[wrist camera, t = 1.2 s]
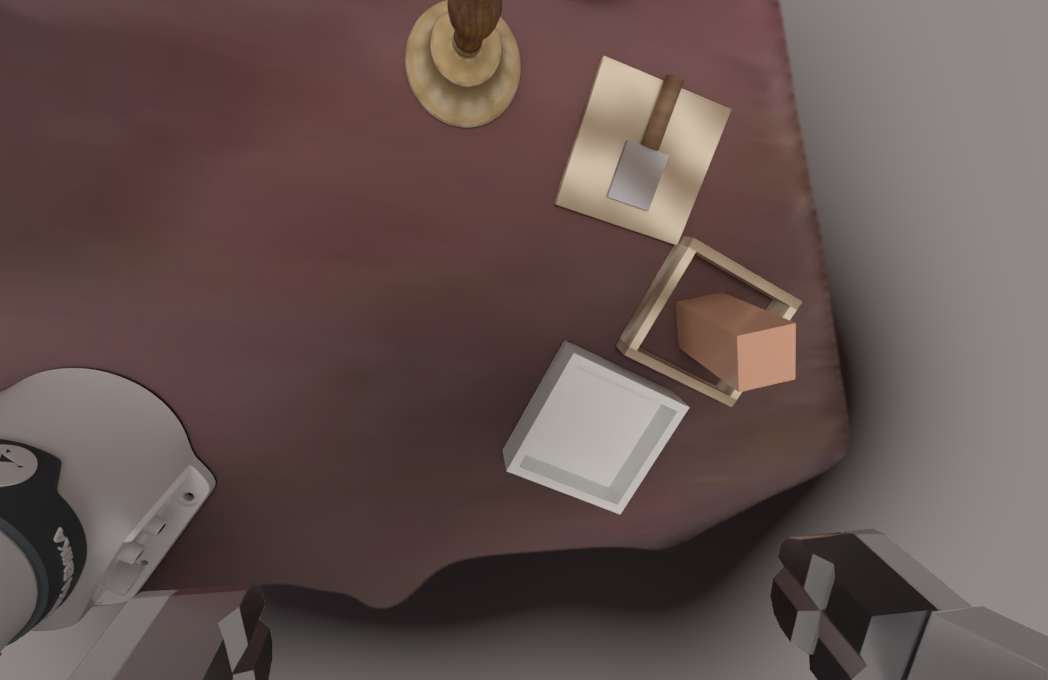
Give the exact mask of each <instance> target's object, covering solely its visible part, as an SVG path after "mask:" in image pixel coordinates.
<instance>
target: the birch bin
mask: <svg viewBox="0 0 1048 680" xmlns="http://www.w3.org/2000/svg"><path fill="white" fill-rule="evenodd" d="M694 255H697V256H698V257H700V258H702V259H704V260H705V261H707V262H709V263H710V264H712V265H714V266H716V267H717V268H719V269H721V270H723V271H724V272H726V273H728V274H729V275H731V276H733V277H735V278H736V279H738V280H740V281H742V282H743V283H745V284H747V285H749V286H750V287H752V288H754V289H755V290H757V291H759V292H761V293H762V294H764V295H766V296H768V297H769V298H771V299H772V301H771V302H770V304H769V305H768V307H767V308H766V311H768V312H771V313H773V314H776V315H778V316H780V317H783V318H785V319H787V320H790V319H791V318H792V316H793V315H794V313H795V312H796V310H797V309H798V307H799V306H800V304H801V303H802V301H800V300H798V299H797V298H795V297H793V296H791V295H790V294H788V293H786V292H785V291H783V290H781V289H780V288H778V287H776V286H774V285H773V284H771V283H769V282H768V281H766V280H764V279H763V278H761V277H759V276H758V275H756V274H754V273H752V272H751V271H749V270H747V269H746V268H744V267H742V266H741V265H739V264H737V263H735V262H734V261H732V260H730V259H729V258H727V257H725V256H724V255H722V254H720V253H718V252H717V251H715V250H713V249H712V248H710V247H708V246H707V245H705V244H703V243H702V242H700V241H698V240H696V239H695V238H692V237H688V236H684V235H681V237H680V240H679V242H678V245H674V246H673V248H672V250H671V251H670V253H669V255H668V256H667V258H666V260H665V262H664V263H663V265H662V267H661V268H660V270H659V272H658V273H657V275H656V277H655V279H654V280H653V282H652V284H651V285H650V287H649V289H648V290H647V292H646V294H645V296H644V297H643V299H642V301H641V302H640V304H639V306H638V307H637V309H636V311H635V313H634V314H633V316H632V318H631V319H630V321H629V323H628V324H627V326H626V328H625V330H624V331H623V333H622V335H621V336H620V338H619V340H618V342H617V343H616V345H615V346H616V347H617V348H618V349H619V350H620V351H621V352H622V353H623V354H624V355H625V356H628V357H630V358H632V359H634V360H636V361H638V362H640V363H642V364H644V365H646V366H648V367H650V368H652V369H654V370H656V371H658V372H660V373H663V374H665V375H667V376H669V377H671V378H673V379H675V380H677V381H679V382H681V383H683V384H685V385H687V386H689V387H691V388H693V389H696V390H698V391H700V392H702V393H704V394H706V395H708V396H710V397H712V398H714V399H716V400H718V401H720V402H722V403H724V404H726V405H728V406H731V407H732V406H733V405H734V403H735V402H736V400H737V399H738V397H739V396H740V394H741V393H742V392H738V391H736V390H735V389H734V388H732V387H731V386H730V385H728V384H727V383H726V382H724V381H723V380H722V379H720V380H719V382H718V383H717V385H714V384H712V383H710V382H708V381H706V380H704V379H702V378H700V377H698V376H696V375H694V374H692V373H690V372H688V371H686V370H683V369H681V368H679V367H677V366H675V365H673V364H671V363H669V362H667V361H665V360H663V359H661V358H659V357H657V356H655V355H653V354H651V353H649V352H647V351H645V350H643V349H641V348H639V346H640V345H641V343H642V341H643V340H644V338H645V336H646V335H647V333H648V331H649V330H650V328H651V326H652V325H653V323H654V321H655V320H656V318H657V316H658V315H659V313H660V311H661V310H662V308H663V306H664V305H665V303H666V301H667V300H668V298H669V296H670V295H671V293H672V291H673V290H674V288H675V286H676V285H677V283H678V281H679V280H680V278H681V276H682V275H683V273H684V271H685V270H686V268H687V266H688V265H689V263H690V261H691V260H692V258H693V256H694Z"/></svg>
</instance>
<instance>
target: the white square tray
mask: <svg viewBox="0 0 1048 680" xmlns="http://www.w3.org/2000/svg"><path fill="white" fill-rule="evenodd" d="M688 409H689V406H688V405H687V404H685V403H684V402H683V401H682V400H681V399H680V398H679V397H678V396H677V395H676V394H675V393H674V392H673V391H671V390H669V389H667V388H665V387H663V386H661V385H659V384H657V383H654V382H652V381H650V380H648V379H646V378H644V377H642V376H640V375H638V374H636V373H633V372H631V371H629V370H627V369H625V368H623V367H621V366H619V365H617V364H615V363H612V362H610V361H608V360H606V359H604V358H602V357H600V356H598V355H596V354H594V353H592V352H589V351H587V350H585V349H583V348H581V347H579V346H577V345H575V344H573V343H571V342H568V341H566V340H564V341H563V343H562V345H561V346H560V348H559V350H558V352H557V354H556V355H555V357H554V359H553V361H552V363H551V364H550V366H549V368H548V370H547V371H546V373H545V375H544V377H543V379H542V380H541V382H540V384H539V386H538V387H537V389H536V391H535V393H534V395H533V396H532V398H531V400H530V402H529V404H528V405H527V407H526V409H525V411H524V412H523V414H522V416H521V418H520V420H519V421H518V423H517V425H516V427H515V429H514V430H513V432H512V434H511V436H510V437H509V439H508V441H507V443H506V445H505V446H504V448H503V450H502V451H503V456H504V461H505V466H506V471H507V472H510V473H512V474H515V475H518V476H520V477H523V478H525V479H528V480H531V481H533V482H536V483H539V484H541V485H544V486H547V487H549V488H552V489H555V490H557V491H560V492H562V493H565V494H568V495H570V496H573V497H576V498H578V499H581V500H584V501H586V502H589V503H591V504H594V505H597V506H599V507H602V508H605V509H607V510H610V511H613V512H615V513H618V514H621V513H622V511H623V510H624V508H625V507H626V505H627V503H628V502H629V500H630V499H631V497H632V496H633V494H634V493H635V491H636V490H637V488H638V486H639V485H640V483H641V482H642V480H643V479H644V477H645V476H646V474H647V473H648V471H649V469H650V468H651V466H652V465H653V463H654V462H655V460H656V459H657V457H658V455H659V454H660V452H661V451H662V449H663V448H664V446H665V445H666V443H667V442H668V440H669V438H670V437H671V435H672V434H673V432H674V431H675V429H676V428H677V426H678V425H679V423H680V421H681V420H682V418H683V417H684V415H685V414H686V412H687V411H688Z"/></svg>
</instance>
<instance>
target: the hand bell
mask: <svg viewBox="0 0 1048 680" xmlns="http://www.w3.org/2000/svg"><path fill="white" fill-rule="evenodd" d="M501 11H502V0H445V1H442V2H439V3H437V4H435V5H434V6H432V7H430V8H429V9H428V10H426V11H425V12H424V13H423V14H422V15H421V16H420V17H419V19H418V20H417V21H416V23H415V24H414V26H413V28H412V29H411V32H410V34H409V37H408V40H407V45H406V51H405V66H406V73H407V78H408V81H409V84H410V87H411V89H412V91H413V93H414V95H415V96H416V98H417V99H418V101H419V102H420V104H421V105H422V106H423V107H424V108H425V109H426V110H427V111H428V112H429V113H430V114H431V115H433V116H434V117H435V118H436V119H438V120H440V121H442V122H444V123H446V124H449V125H452V126H456V127H461V128H472V127H478V126H482V125H485V124H487V123H489V122H491V121H493V120H495V119H496V118H497V117H499V116H500V115H501V114H502V113H503V112H504V111H505V110H506V109H507V108H508V107H509V105H510V104H511V102H512V100H513V98H514V96H515V94H516V92H517V89H518V86H519V81H520V76H521V59H520V52H519V49H518V45H517V42H516V40H515V37H514V35H513V33H512V31H511V30H510V28H509V27H508V25H507V24H506V23H505V21H504V20H503V19H502V18H501V17H500V16H501Z"/></svg>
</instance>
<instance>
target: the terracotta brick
mask: <svg viewBox="0 0 1048 680" xmlns="http://www.w3.org/2000/svg"><path fill="white" fill-rule="evenodd" d="M675 304H676V318H677V331H678V345H679V348H680V349H681V350H683V351H684V352H685V353H687V354H688V355H689V356H691V357H692V358H693V359H695V360H696V361H697V362H699V363H700V364H701V365H703V366H704V367H705V368H707V369H708V370H710V371H711V372H712V373H714V374H715V375H716V376H718V377H719V378H720V379H722V380H723V381H724V382H726V383H727V384H728V385H730V386H731V387H732V388H734V389H735V390H736V391H738V392H742V391H747V390H751V389H755V388H759V387H764V386H768V385H772V384H777V383H781V382H785V381H790V380H794V379H795V348H796V323H794V322H792V321H790V320H787V319H785V318H783V317H780V316H778V315H776V314H773V313H771V312H768V311H766V310H764V309H761V308H759V307H757V306H754V305H752V304H749V303H747V302H745V301H742V300H740V299H738V298H735V297H733V296H730V295H728V294H726V293H723V292H719V293H715V294H710V295H705V296H701V297H696V298H691V299H687V300H682V301H677V302H675Z"/></svg>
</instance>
